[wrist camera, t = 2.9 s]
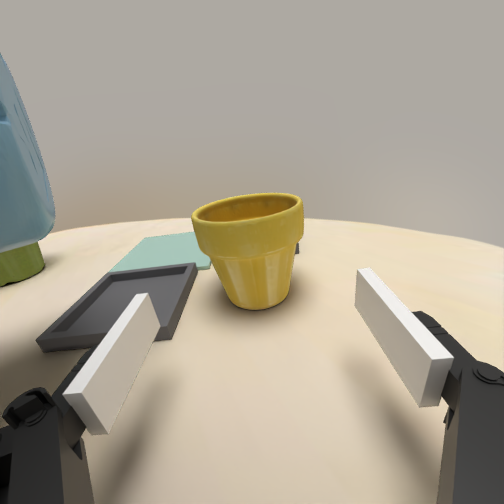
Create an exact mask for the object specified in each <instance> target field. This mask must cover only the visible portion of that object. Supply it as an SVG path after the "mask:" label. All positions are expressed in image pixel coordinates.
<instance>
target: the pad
mask: <svg viewBox="0 0 504 504" xmlns="http://www.w3.org/2000/svg"><path fill="white" fill-rule="evenodd" d="M192 262H195V263H196V267H197V270H204V269H209V268H210V265H211V260H210V258H209V256H207V255H205V254H204V253H203V252H202V251H201V250H200V248H199V246H198V242H197V239H196V236H195V232H188V233H180V234H172V235H164V236H156V237H148V238H144V239H143V240H142V241H141V242H140V243H139V244H138V245H137V246H136V247H135V248H134V249H132V250H131V251H130V252H129V253H128V254H127V255H126V256H125V257H124V258H123V259H122V260H121V261H120V262H119V263H118V264H116V265H115V266H114V267H113V268H112V269H111V270H110V271H109V272H116V271H124V270H133V269H141V268H150V267H158V266H167V265H175V264H184V263H192Z"/></svg>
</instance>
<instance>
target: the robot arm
mask: <svg viewBox="0 0 504 504" xmlns="http://www.w3.org/2000/svg"><path fill="white" fill-rule="evenodd" d="M54 222H55V207H54V201H53V196H52V191H51V187H50V184H49V180H48V176H47V173H46V169H45V166H44V163H43V159H42V156H41V153H40V150H39V147H38V144H37V141H36V138H35V135H34V132H33V129H32V126H31V123H30V121H29V118H28V115H27V113H26V110H25V107H24V104H23V102H22V99H21V97H20V94H19V92H18V89H17V87H16V85H15V82H14V80H13V77H12V75H11V73H10V70H9V68H8V66H7V64H6V62H5V61H4V60H3V58H2V56H1V54H0V253H1V252H5V251H8V250H12V249H15V248H19V247H22V246H26V245H29V244H33V243H35V242H38V241H39V240H41V239H43V238H44V237H46V236H47V235H48V233H49V232H50V231H51V230H52V228H53V226H54ZM355 307H356V308H357V310H358V312H359V313H360V315H361V316H362V318H363V320H364V321H365V323H366V324H367V326H368V327H369V329H370V331H371V332H372V334H373V335H374V337H375V339H376V340H377V342H378V343H379V345H380V346H381V348H382V350H383V351H384V353H385V354H386V356H387V357H388V359H389V361H390V362H391V364H392V365H393V367H394V369H395V370H396V372H397V373H398V375H399V376H400V378H401V380H402V381H403V383H404V384H405V386H406V388H407V389H408V391H409V392H410V394H411V395H412V397H413V399H414V400H415V402H416V403H417V405H418V406H419V408H420V407H432V406H439V403H440V400H441V397H443V399H444V400H445V401H446V403H447V404H448V405H449V407H448V410H447V413H446V416H445V419H444V422H443V423H445V424H446V427H445V435H444V444H443V453H442V462H441V470H440V479H439V488H438V496H437V504H504V372H502V371H501V370H499V369H498V368H496V367H494V366H492V365H490V364H487V363H484V362H480V361H477V360H476V359H475V358H474V357H473V356H472V355H471V354H470V353H468V352H467V351H466V350H465V349H464V348H463V347H462V346H461V345H460V344H459V343H458V342H457V341H456V340H455V339H454V338H453V337H452V336H451V335H450V334H448V332H447V331H446V330H445V329H444V328H442V327H441V325H440V324H439V323H438V322H437V321H436V320H435V319H434V318H432V317H431V316H429V315H427V314H425V313H424V312H422V311H417V312H411V311H410V310H409V309H408V308H407V307H406V306H405V305H404V304H403V303H402V302H401V300H400V299H399V298H398V297H397V296H396V295H395V294H394V293H393V292H392V291H391V290H390V289H389V288H388V287H387V286H386V284H385V283H384V282H383V281H382V280H381V279H380V278H379V277H378V276H377V275H376V274H375V273H374V272H373V271H372V270H371V268H363V269H357V278H356V293H355ZM159 328H160V323H159V321H158V318H157V315H156V313H155V310H154V307H153V305H152V302H151V299H150V297H149V294H148V293H143V294H136V295H135V297H134V298H133V299H132V301H131V302H130V304H129V305H128V306H127V308H126V309H125V310H124V312H123V313H122V314H121V316H120V317H119V318H118V320H117V321H116V323H115V324H114V325H113V327H112V328H111V329H110V331H109V332H108V333H107V335H106V336H105V337H104V339H103V340H102V342H101V343H100V344H99V345H96V346H93V347H92V348H91V349H90V350H88V351H87V352H86V353H85V354H84V355H83V356H82V357H81V359H80V360H79V361H78V363H77V365H75V366H74V368H73V369H72V370H71V373H69V374H68V375H67V377H66V378H65V379H64V381H63V382H62V383H61V385H60V386H59V387H58V388H57V390H56V391H55V392H54V394H53V395H52V396H50V395H49V393H48V392H47V391H46V389H45V388H41V387H39V388H34V389H31V390H29V391H27V392H25V393H23V394H22V395H20V396H19V397H17V398H16V399H15V400H14V401H12V402H11V403H10V404H9V405H8V407H7V408H6V409H5V410H4V413H3V415H2V417H3V418H4V420H5V421H6V422H7V423H8V424H9V426H6V427H3V428H1V429H0V504H94V499H93V493H92V487H91V481H90V475H89V469H88V464H87V458H86V452H85V446H84V441H83V439H82V438H81V435H82V434H83V432H84V430H85V428H87V430H88V431H89V433H90V434H91V435H92V436H93V435H104V434H109V432H110V430H111V428H112V426H113V424H114V422H115V420H116V418H117V416H118V414H119V412H120V409H121V407H122V405H123V403H124V401H125V399H126V397H127V395H128V393H129V391H130V389H131V387H132V384H133V382H134V380H135V378H136V376H137V374H138V372H139V370H140V368H141V366H142V364H143V362H144V360H145V357H146V355H147V353H148V351H149V349H150V347H151V345H152V343H153V341H154V339H155V337H156V335H157V332H158V330H159Z"/></svg>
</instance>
